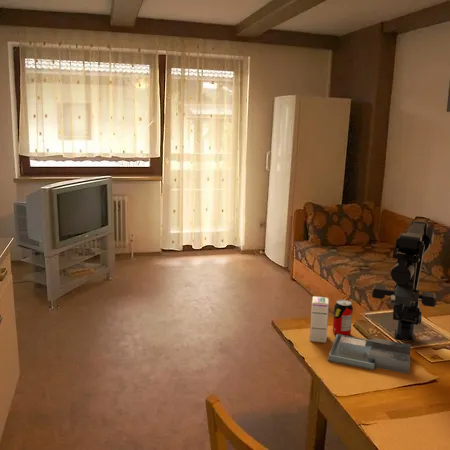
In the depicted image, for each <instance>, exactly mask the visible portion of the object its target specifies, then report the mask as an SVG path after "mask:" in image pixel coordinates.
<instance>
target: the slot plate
mask: <svg viewBox="0 0 450 450" xmlns="http://www.w3.org/2000/svg"><path fill="white" fill-rule="evenodd" d="M411 348H412V344H410V343H409V344H408V343H402V342H398V341H393V340H388V339H382V338H377V337H372V344H371V350H370V352H369V359H368V362H369V363H374V364H375V365H374V366H375V367H374V368H377V369H380V370H381V369H382V370H386V371H391V372H396V373H402V374H405V375H410V374H409V373H410V367H411V352H412V351H411V350H412V349H411Z"/></svg>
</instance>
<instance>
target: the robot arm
mask: <svg viewBox="0 0 450 450" xmlns="http://www.w3.org/2000/svg"><path fill="white" fill-rule="evenodd" d="M434 232H435V231H434V229H432V228H431V227H430V226H429V223H428V222H426V221H418V220H413V221H411V225H409V226H408V228H407V232H402V233H400V234H399V236H398V237H397V238H396V240H395V245H394V249H393V255H392V259H396V260H397V261H396V264H395V265H394V267H393V268H392V269H391V272H390V276H391V277H390V278H391V279H392V281H393V282H394V289H387V285H385V284H384V285H382V284H378V283H377V284H375V285H373V288H372V295H371V297H372V298H373V299H379V300H382V299H384V298H385V297H386V296H388V297H390V303H392V304H393V310H392V311H393V312H392V320H394V321H397V323H396V329H395V330H394V339H397V340H403V341H404V340H405V341H408V342H415V325H416V326H419V325H421V324H422V317H423V315H422V313H423V312H422V311H421V310H422V309H421V307H420V301H421V304H422V305H423V306H424V307H431V308H433V307H436V298H437V297H436V294H435V292H431V291H424V290H422V292H421V294H420V290H419V289H418V288H419V283H420V277H421V272H422V266H423V260H424V256H425V255H426V254H427V253H429V251H430V249H431V245H433V243H434V238H435V236H434Z"/></svg>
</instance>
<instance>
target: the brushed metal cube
mask: <svg viewBox="0 0 450 450" xmlns="http://www.w3.org/2000/svg"><path fill="white" fill-rule="evenodd" d="M353 339H354V338H349V337H344V336H341V339H340V342H339V353H344V354H349V355H351V351H352V343H353Z"/></svg>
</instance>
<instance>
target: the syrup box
mask: <svg viewBox="0 0 450 450" xmlns="http://www.w3.org/2000/svg"><path fill="white" fill-rule="evenodd" d="M329 304H330V302H329V297H326V296H325V297H324V296H314V295H313V296H312V299H311V310H310V327H309V328H310V331H309V341H311V342H316V343H323V344H324V343H327V339H328V338H327V337H328V325H329Z"/></svg>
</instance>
